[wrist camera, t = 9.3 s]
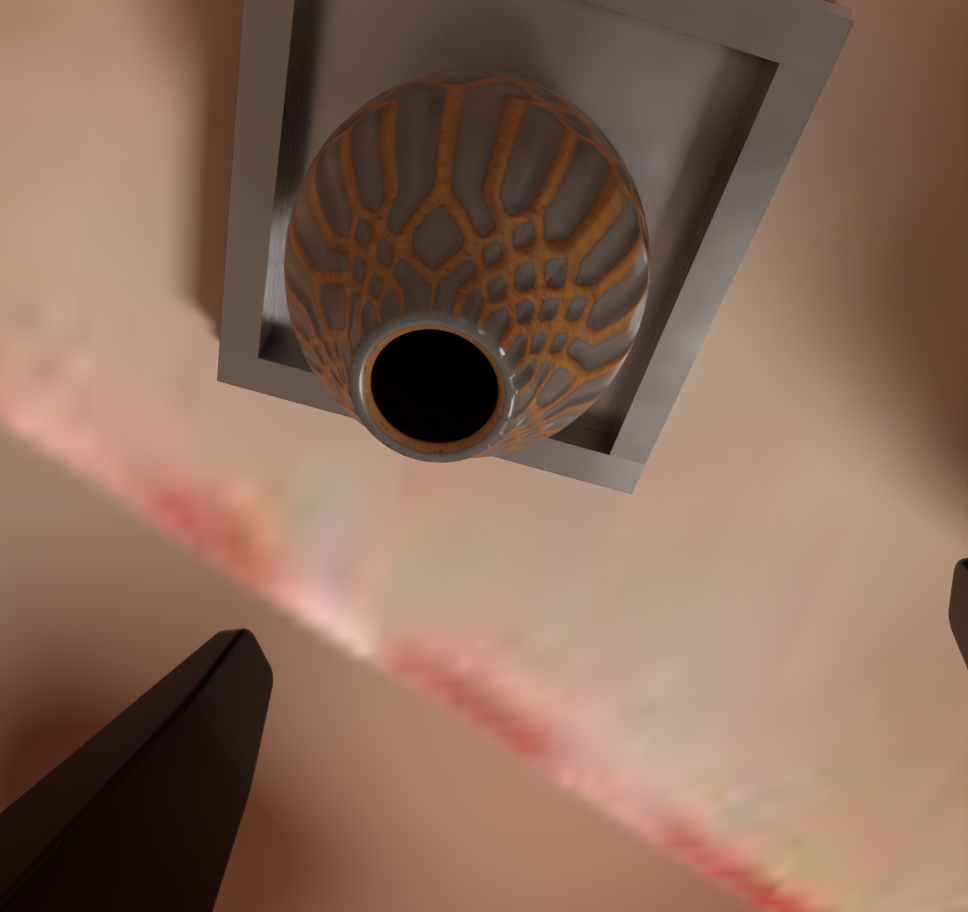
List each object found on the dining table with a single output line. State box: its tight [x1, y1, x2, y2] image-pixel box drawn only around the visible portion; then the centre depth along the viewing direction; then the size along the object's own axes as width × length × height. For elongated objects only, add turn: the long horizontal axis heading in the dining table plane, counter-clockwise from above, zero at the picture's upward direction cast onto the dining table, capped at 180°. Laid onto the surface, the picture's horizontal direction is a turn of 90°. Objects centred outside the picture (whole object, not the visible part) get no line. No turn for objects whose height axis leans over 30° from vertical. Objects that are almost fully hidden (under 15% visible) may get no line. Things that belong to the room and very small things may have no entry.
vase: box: [284, 69, 651, 463], centre depth 14 cm, size 7×7×9 cm
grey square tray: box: [217, 0, 854, 494], centre depth 17 cm, size 12×12×2 cm
